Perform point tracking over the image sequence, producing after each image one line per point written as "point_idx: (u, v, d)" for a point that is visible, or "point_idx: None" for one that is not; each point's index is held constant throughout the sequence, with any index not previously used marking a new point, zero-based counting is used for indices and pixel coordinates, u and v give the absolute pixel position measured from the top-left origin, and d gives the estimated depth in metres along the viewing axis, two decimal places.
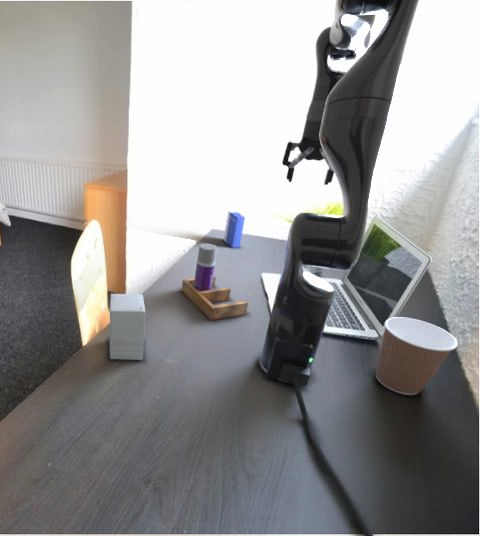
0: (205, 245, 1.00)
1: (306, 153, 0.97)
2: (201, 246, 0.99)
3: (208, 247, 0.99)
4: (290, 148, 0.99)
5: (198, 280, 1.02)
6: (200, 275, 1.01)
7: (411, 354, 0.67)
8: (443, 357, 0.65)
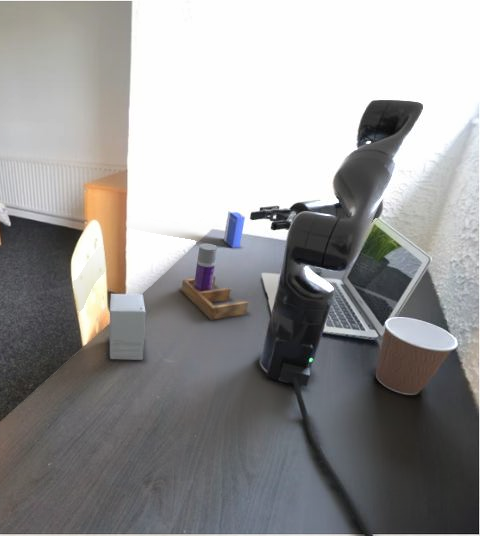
0: (205, 245, 1.00)
1: (282, 209, 1.03)
2: (201, 246, 0.99)
3: (208, 247, 0.99)
4: (275, 207, 1.07)
5: (198, 280, 1.02)
6: (200, 275, 1.01)
7: (411, 354, 0.67)
8: (443, 357, 0.65)
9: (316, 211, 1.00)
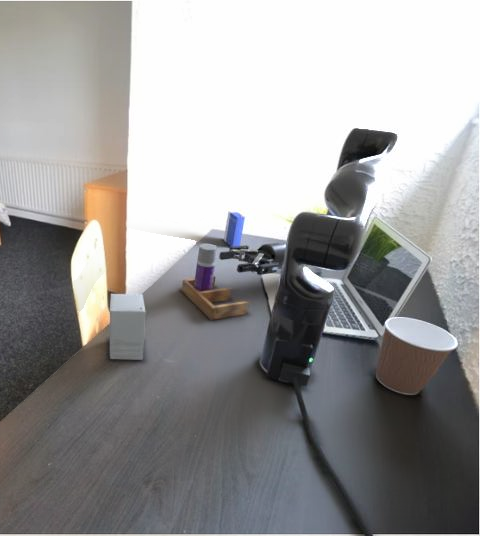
0: (205, 245, 1.00)
1: (250, 250, 1.05)
2: (201, 246, 0.99)
3: (208, 247, 0.99)
4: (244, 246, 1.09)
5: (198, 280, 1.02)
6: (200, 276, 1.01)
7: (411, 354, 0.67)
8: (443, 357, 0.65)
9: (282, 254, 1.02)
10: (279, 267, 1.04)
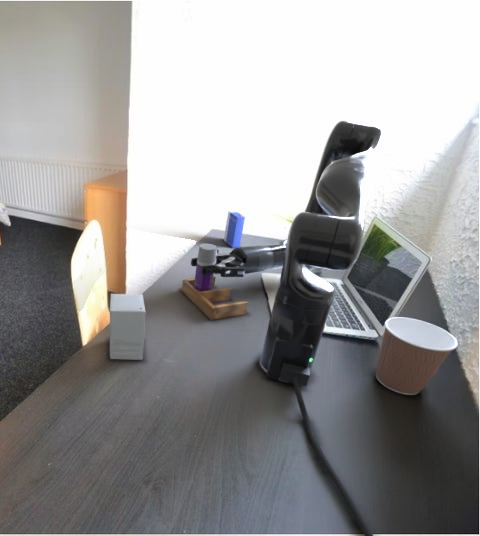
0: (205, 245, 1.00)
1: (222, 254, 1.03)
2: (201, 246, 0.99)
3: (208, 247, 0.99)
4: None
5: (198, 280, 1.02)
6: (200, 275, 1.01)
7: (411, 354, 0.67)
8: (443, 357, 0.65)
9: (254, 258, 1.00)
10: (251, 271, 1.02)
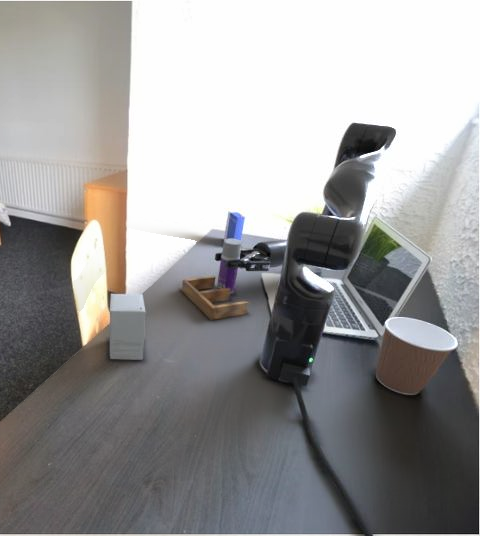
0: (230, 240, 1.01)
1: (245, 249, 1.05)
2: (226, 241, 1.01)
3: (233, 242, 1.00)
4: None
5: (222, 275, 1.03)
6: (225, 270, 1.02)
7: (411, 354, 0.67)
8: (443, 357, 0.65)
9: (278, 252, 1.02)
10: (275, 265, 1.03)
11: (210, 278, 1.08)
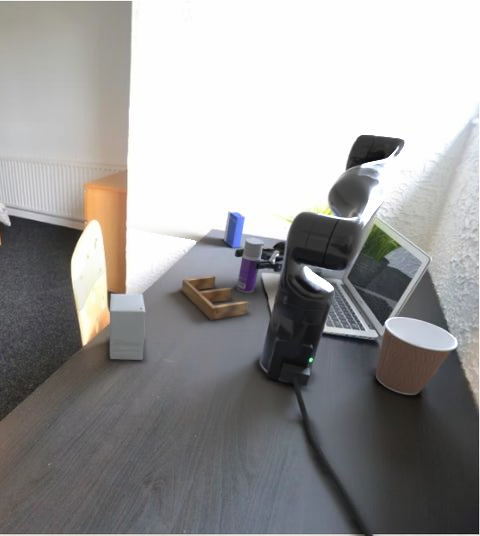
0: (251, 239, 1.03)
1: (265, 247, 1.06)
2: (247, 240, 1.02)
3: (255, 241, 1.02)
4: None
5: (243, 274, 1.05)
6: (246, 269, 1.04)
7: (411, 354, 0.67)
8: (443, 357, 0.65)
9: None
10: None
11: (210, 278, 1.08)
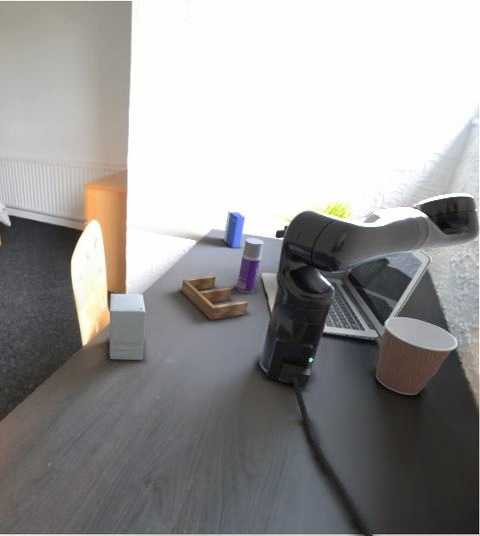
0: (251, 239, 1.03)
1: None
2: (247, 240, 1.02)
3: (255, 241, 1.02)
4: None
5: (243, 274, 1.05)
6: (246, 269, 1.04)
7: (411, 354, 0.67)
8: (443, 357, 0.65)
9: None
10: None
11: (210, 278, 1.08)
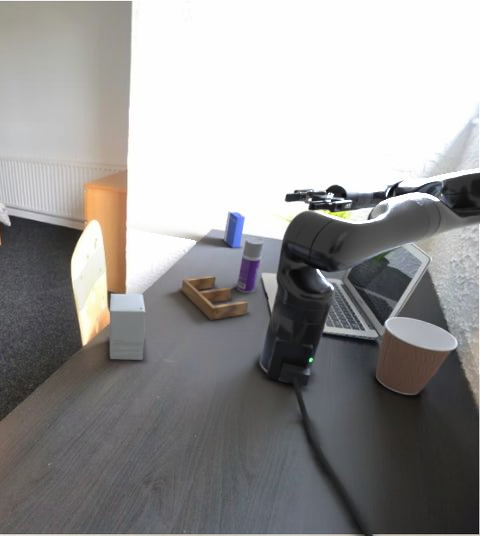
0: (251, 239, 1.03)
1: (318, 191, 1.03)
2: (247, 240, 1.02)
3: (255, 241, 1.02)
4: (309, 190, 1.06)
5: (243, 274, 1.05)
6: (246, 269, 1.04)
7: (411, 354, 0.67)
8: (443, 357, 0.65)
9: (353, 193, 0.99)
10: None
11: (210, 278, 1.08)
